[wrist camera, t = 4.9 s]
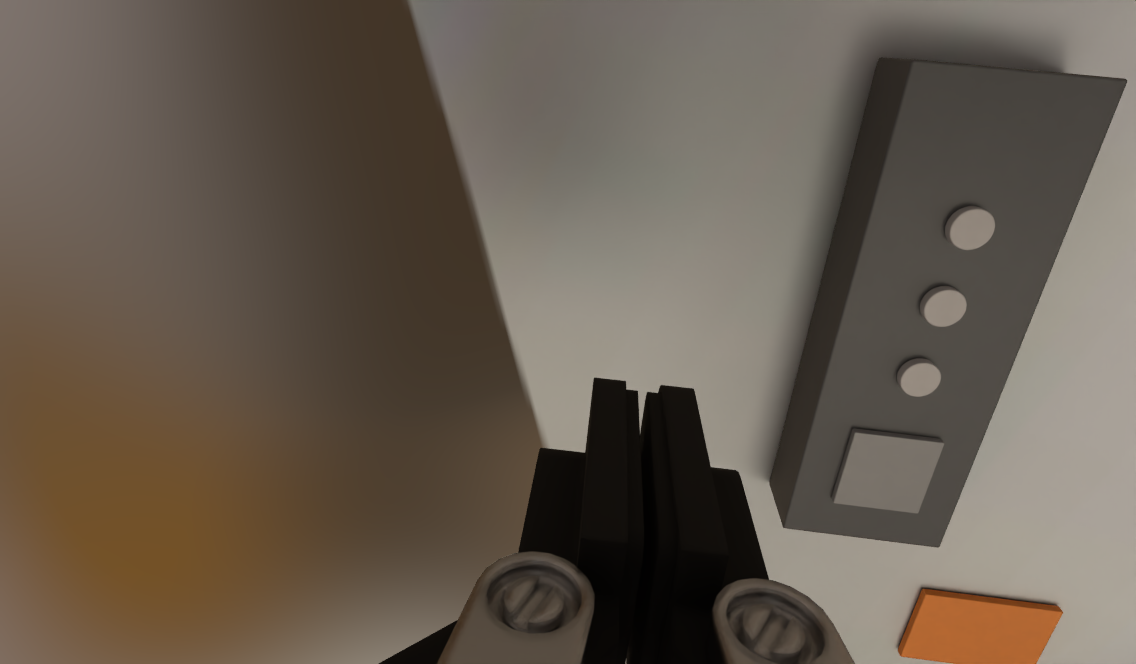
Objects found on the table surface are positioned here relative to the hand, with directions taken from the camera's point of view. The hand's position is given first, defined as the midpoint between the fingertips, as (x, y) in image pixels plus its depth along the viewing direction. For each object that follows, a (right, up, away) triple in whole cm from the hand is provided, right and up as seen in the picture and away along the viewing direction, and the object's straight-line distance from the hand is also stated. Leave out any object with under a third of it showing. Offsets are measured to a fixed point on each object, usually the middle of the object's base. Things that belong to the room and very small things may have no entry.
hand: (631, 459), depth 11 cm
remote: (+8, +3, +8) cm, 12 cm away
